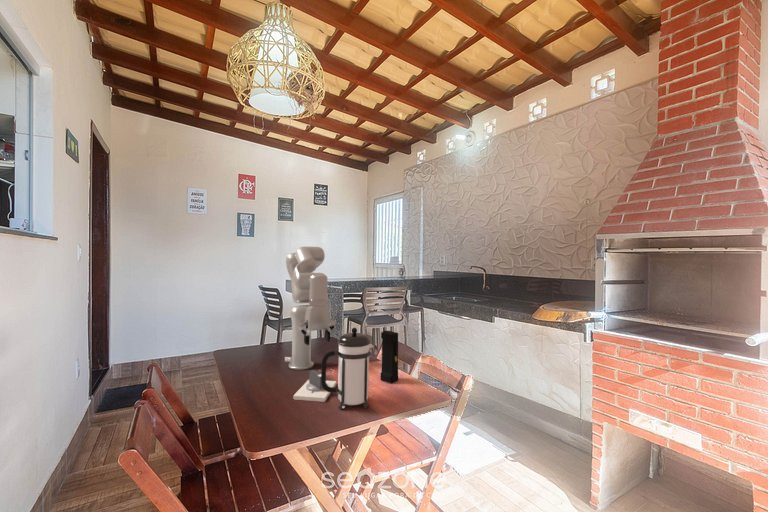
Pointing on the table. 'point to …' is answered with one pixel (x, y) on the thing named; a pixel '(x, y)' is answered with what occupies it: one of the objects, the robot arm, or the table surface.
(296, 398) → the dial panel
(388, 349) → the portable radio
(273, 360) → the table surface
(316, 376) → the dial
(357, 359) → the coffee press
